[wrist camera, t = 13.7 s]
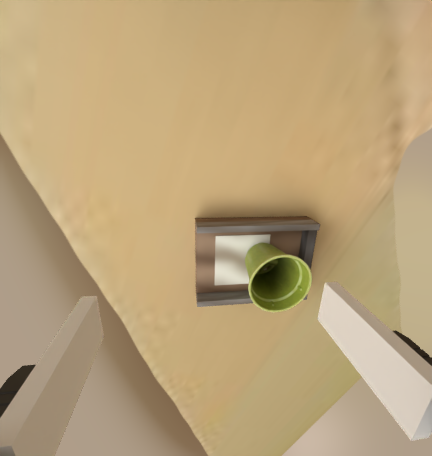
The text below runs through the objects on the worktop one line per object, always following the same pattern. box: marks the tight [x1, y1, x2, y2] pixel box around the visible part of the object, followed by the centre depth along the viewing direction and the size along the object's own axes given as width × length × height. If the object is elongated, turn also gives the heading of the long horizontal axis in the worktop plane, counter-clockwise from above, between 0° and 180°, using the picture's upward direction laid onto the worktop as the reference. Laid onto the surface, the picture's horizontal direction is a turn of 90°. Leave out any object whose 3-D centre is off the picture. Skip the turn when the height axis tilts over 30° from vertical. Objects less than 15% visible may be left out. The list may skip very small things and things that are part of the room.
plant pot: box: [245, 243, 312, 312], centre depth 37 cm, size 9×9×9 cm
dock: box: [195, 216, 320, 307], centre depth 41 cm, size 14×20×4 cm
